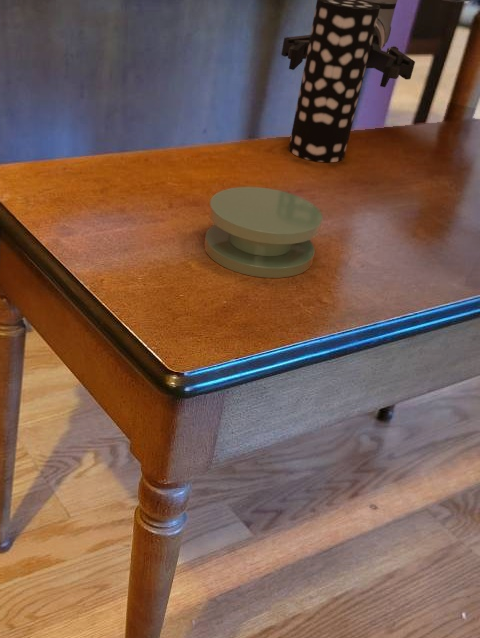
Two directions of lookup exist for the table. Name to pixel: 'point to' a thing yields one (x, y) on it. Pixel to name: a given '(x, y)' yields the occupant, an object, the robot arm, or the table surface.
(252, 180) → the table surface
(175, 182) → the table surface
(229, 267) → the stand
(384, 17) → the robot arm
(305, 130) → the spotted tube
